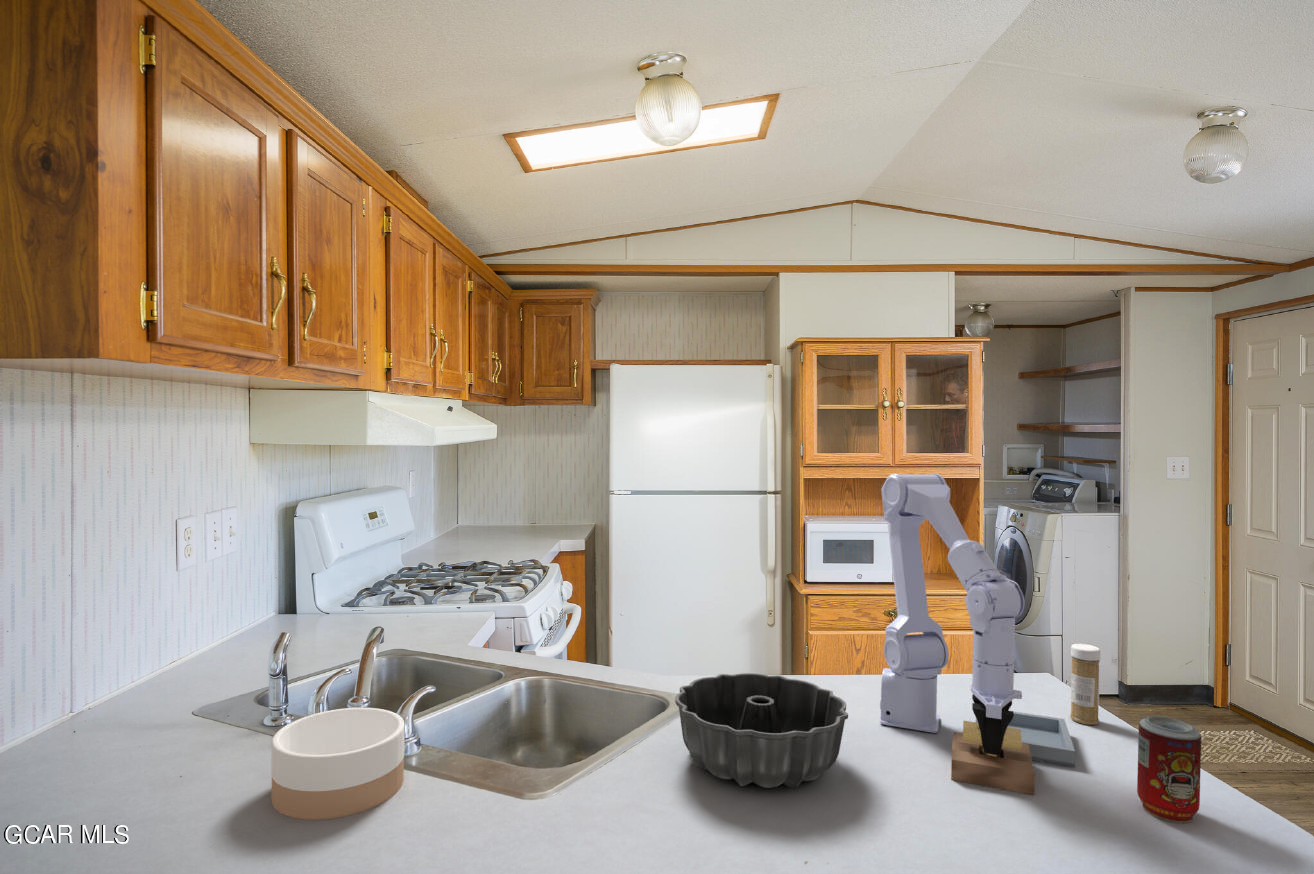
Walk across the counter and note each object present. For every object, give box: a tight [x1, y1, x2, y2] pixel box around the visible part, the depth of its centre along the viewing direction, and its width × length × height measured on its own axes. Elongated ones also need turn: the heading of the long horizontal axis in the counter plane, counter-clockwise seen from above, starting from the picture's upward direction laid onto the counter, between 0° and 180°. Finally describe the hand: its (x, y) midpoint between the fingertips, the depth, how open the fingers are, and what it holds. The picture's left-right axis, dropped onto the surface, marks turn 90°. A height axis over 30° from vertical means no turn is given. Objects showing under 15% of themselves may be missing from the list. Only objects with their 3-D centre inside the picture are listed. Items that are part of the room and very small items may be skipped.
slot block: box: [950, 731, 1035, 796], centre depth 112 cm, size 11×11×3 cm
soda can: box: [1136, 715, 1203, 824], centre depth 101 cm, size 7×7×12 cm
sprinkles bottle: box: [1069, 643, 1101, 726], centre depth 133 cm, size 5×5×14 cm
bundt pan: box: [674, 672, 849, 789], centre depth 114 cm, size 26×26×10 cm
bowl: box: [270, 707, 405, 821], centre depth 104 cm, size 17×17×8 cm
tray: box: [975, 710, 1076, 768], centre depth 123 cm, size 14×14×2 cm
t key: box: [962, 720, 1022, 757], centre depth 112 cm, size 8×3×7 cm, turn 67°
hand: (991, 748), depth 112 cm, fingers closed on t key, 3 cm apart
